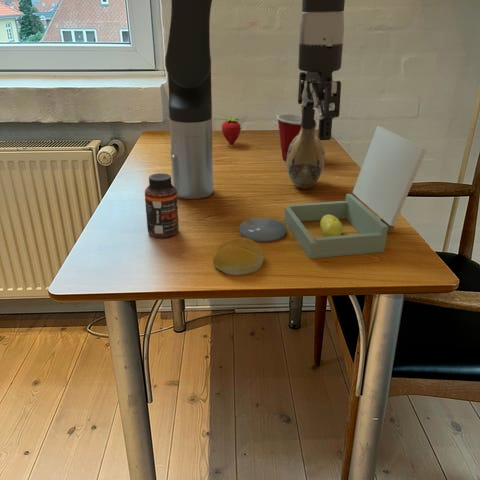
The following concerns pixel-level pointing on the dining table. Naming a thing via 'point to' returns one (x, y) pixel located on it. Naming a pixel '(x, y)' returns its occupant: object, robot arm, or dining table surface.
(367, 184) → the lid
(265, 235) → the saucer
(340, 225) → the yellow oblong lump
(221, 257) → the bread roll
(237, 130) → the strawberry
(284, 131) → the plastic cup
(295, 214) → the frame
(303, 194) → the dining table surface
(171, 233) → the supplement bottle
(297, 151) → the ceramic vessel
